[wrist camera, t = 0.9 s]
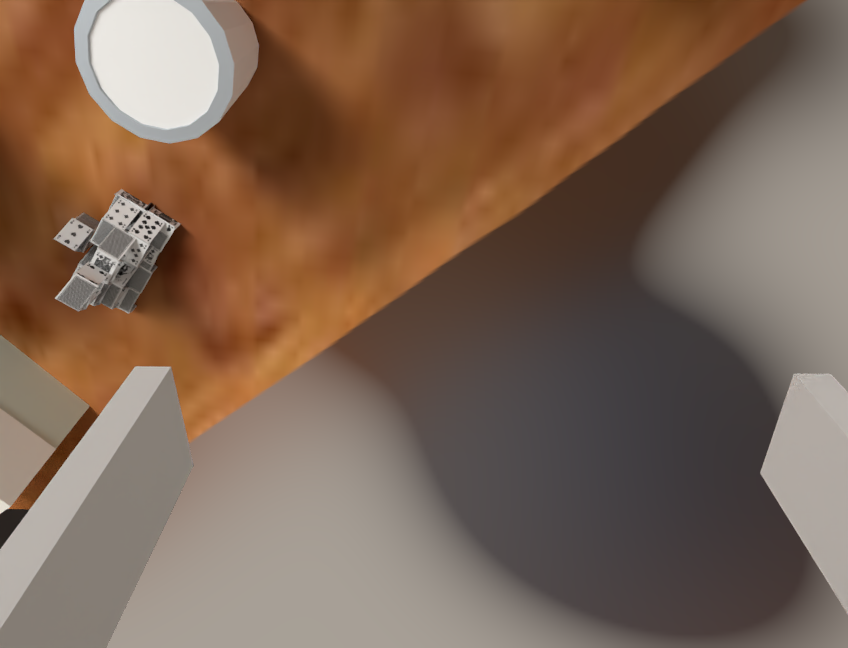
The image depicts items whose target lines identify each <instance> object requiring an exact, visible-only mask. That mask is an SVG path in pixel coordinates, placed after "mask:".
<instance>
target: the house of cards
mask: <svg viewBox="0 0 848 648" xmlns="http://www.w3.org/2000/svg"><path fill="white" fill-rule="evenodd" d="M114 195H116V196H115V198H114V200H113V202H112V204H111V206H110V208H109V210H108V212H107V213H106V214H105V215H104V217H103V218H102V219H101V221H100V222H99V221H97V220H95V219H94V218H92V217H90V216H88V215H87V214H85V213H82V214H81V215H79V216H78V217H76V218H73V217H72V218H71V220H70V221H69V222H68V223H67V224H66V225H65V226H64V228H63V229H62V230H61V231H60V232H59V233H58V234H57V235H56V237H55V238H54V239H55V240H56V241H58V242H60V243H61V244H63V245H65V246H67V247H68V248H70V249H72V250H74V251H78V252H84V251H86V250H87V249H88V248H89V247H91V246H92V245H93V244H94V246H93V247H92V248H91V249H90V250H89V252H88V253H87V254H86V255H85V256H84V258H83V259H82V260H81V261H80V262H79V264H78V266H77V268H76V270H75V272H74V274H73V276H72V278H71V279H70V281H69V282H68V283H67V284H66V285H65V287H64V288H63V289H62V290H61V291H60V293H59V294H58V295H57V296H56V297H55V299H56V300H58V301H60V302H62V303H64V304H66V305H67V306H69V307H71V308H73V309H75V310H77V311H78V312H79V311H81V310H85V309H86V308H87V306H88V305H89V304H90V305H92V306H96V305H100V303H102V304H103V305H105V306H107V307H109V308H111V309H113V308H119V309H121V310H123V311H125V312H127V313H128V314H129V312H132V311H133V310H134V309H135V308H136V307H137V305H135V304H134V303H135V301H136V300H137V298H138V296H139V294H140V293H142V291H143V289H144V288H145V286H146V284H147V282H148V280H149V279H150V277H151V275H152V273H153V272H154V271H155V270H156V269H157V266H156V265H154V263H155V261H156V260H157V257H158V255H159V254H160V252H162V250H163V248H164V246H165V245H166V244H167V242H168V240H169V239H170V237H171V235H172V233H173V232H174V230H176V229H177V228H178V227H179V226H180V225H181V224H180V223H178V222H177V221H175V220H173V219H172V218H170V217H169V216H167V215H165V214H164V213H162V212H160V211H159V210H157V209H156V208H154V206H155V205H154V206H153V207H152V208H151V209H150V210H149V211H147V210H148V208H149V206H150V204H151V203H150V204H149V205H147V204H145V203H143V202H142V201H140V200H139V199H137V198H135V197H134V196H132V195H130V194H129V193H127V192H125V191H124V190H122V189H121V190H119V191H118V192H117V193H115V194H114ZM94 232H95V233H94ZM93 233H94V235H93V237H92V238H91V236H92V234H93ZM90 238H91V239H90Z"/></svg>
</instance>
